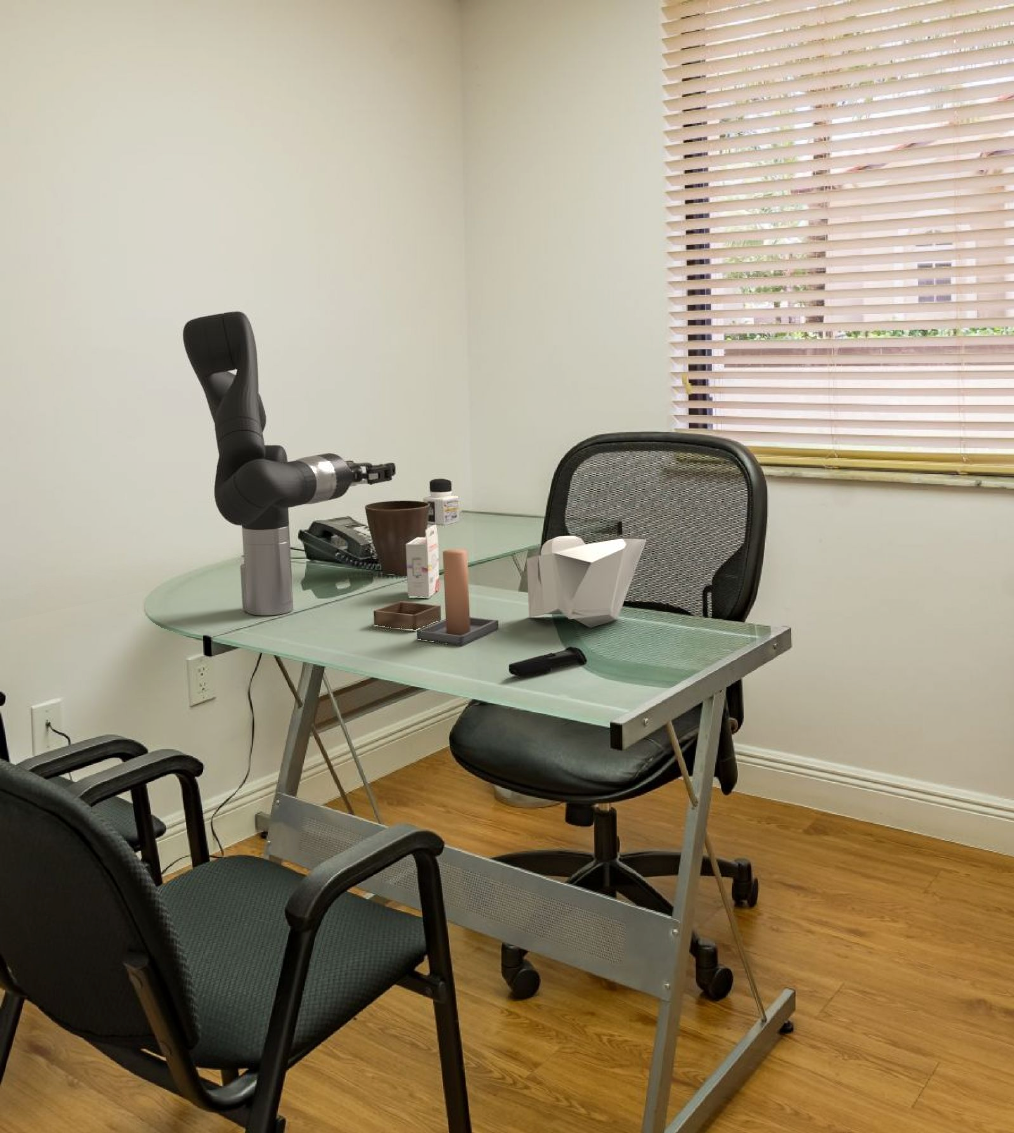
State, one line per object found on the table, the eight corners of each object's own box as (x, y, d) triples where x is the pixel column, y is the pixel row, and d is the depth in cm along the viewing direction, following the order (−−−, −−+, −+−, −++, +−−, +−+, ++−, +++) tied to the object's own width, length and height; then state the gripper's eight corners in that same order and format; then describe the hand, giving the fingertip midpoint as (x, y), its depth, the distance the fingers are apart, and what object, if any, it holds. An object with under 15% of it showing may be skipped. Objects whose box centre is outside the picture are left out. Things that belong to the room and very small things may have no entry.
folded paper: (516, 531, 217) (558, 553, 202) (625, 522, 227) (672, 542, 212) (514, 617, 222) (554, 644, 207) (620, 604, 232) (667, 629, 217)
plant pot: (398, 582, 256) (396, 511, 253) (353, 573, 266) (351, 505, 262) (444, 571, 267) (443, 503, 264) (400, 564, 277) (398, 498, 274)
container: (444, 525, 334) (443, 481, 332) (423, 523, 339) (422, 479, 336) (459, 521, 341) (458, 478, 338) (438, 519, 345) (437, 477, 342)
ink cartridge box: (417, 590, 248) (416, 523, 245) (439, 590, 247) (438, 523, 244) (406, 598, 239) (404, 529, 237) (429, 599, 238) (427, 529, 236)
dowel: (441, 633, 208) (438, 552, 205) (454, 628, 212) (450, 548, 209) (462, 635, 206) (459, 554, 203) (474, 630, 210) (471, 549, 207)
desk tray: (417, 640, 206) (416, 631, 205) (455, 623, 217) (454, 615, 217) (462, 646, 201) (461, 636, 201) (498, 629, 213) (498, 620, 213)
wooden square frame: (374, 626, 216) (373, 611, 216) (400, 616, 224) (400, 601, 224) (415, 631, 212) (414, 615, 211) (441, 620, 220) (440, 605, 219)
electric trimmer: (502, 679, 183) (502, 660, 182) (573, 660, 193) (573, 642, 192) (518, 684, 180) (517, 665, 179) (588, 665, 190) (588, 646, 189)
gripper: (351, 457, 180) (406, 447, 194) (279, 454, 186) (337, 444, 200) (353, 504, 181) (408, 491, 195) (281, 499, 188) (339, 486, 202)
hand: (372, 467), depth 198 cm, fingers open, 8 cm apart
